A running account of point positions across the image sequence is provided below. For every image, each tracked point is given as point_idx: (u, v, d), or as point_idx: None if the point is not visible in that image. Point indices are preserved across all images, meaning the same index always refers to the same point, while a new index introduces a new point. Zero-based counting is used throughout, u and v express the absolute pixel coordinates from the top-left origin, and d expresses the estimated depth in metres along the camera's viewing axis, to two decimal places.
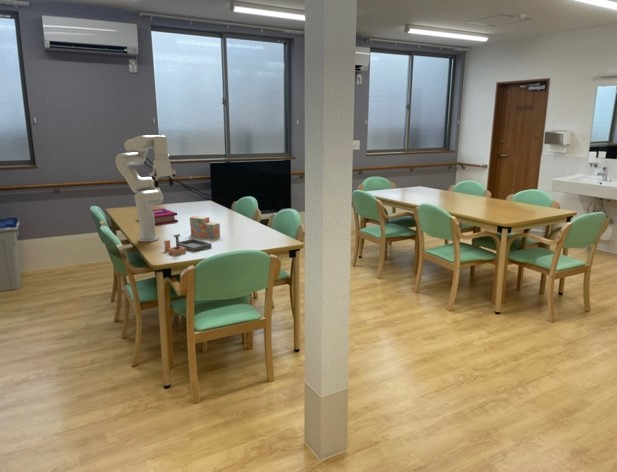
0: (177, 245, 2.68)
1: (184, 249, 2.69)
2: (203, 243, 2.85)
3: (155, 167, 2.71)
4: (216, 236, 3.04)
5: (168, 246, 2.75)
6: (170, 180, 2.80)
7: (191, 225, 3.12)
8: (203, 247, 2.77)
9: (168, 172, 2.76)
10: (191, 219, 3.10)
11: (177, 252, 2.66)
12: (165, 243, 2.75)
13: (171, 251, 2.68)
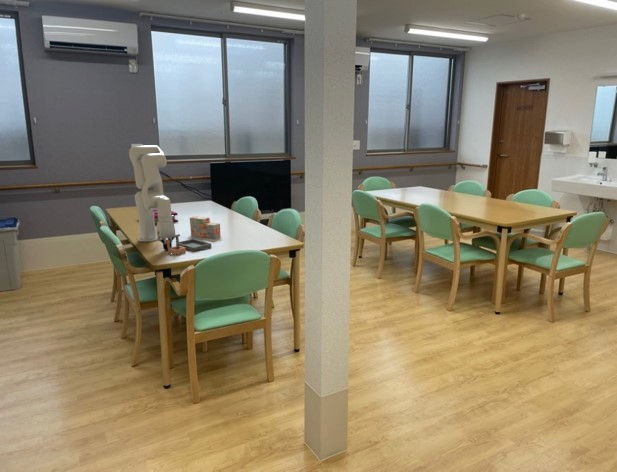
0: (177, 245, 2.68)
1: (184, 249, 2.70)
2: (203, 243, 2.85)
3: (159, 229, 2.70)
4: (217, 236, 3.04)
5: (168, 246, 2.76)
6: None
7: (191, 225, 3.10)
8: (203, 247, 2.77)
9: (172, 233, 2.75)
10: (191, 219, 3.09)
11: (177, 252, 2.66)
12: None
13: (171, 251, 2.68)
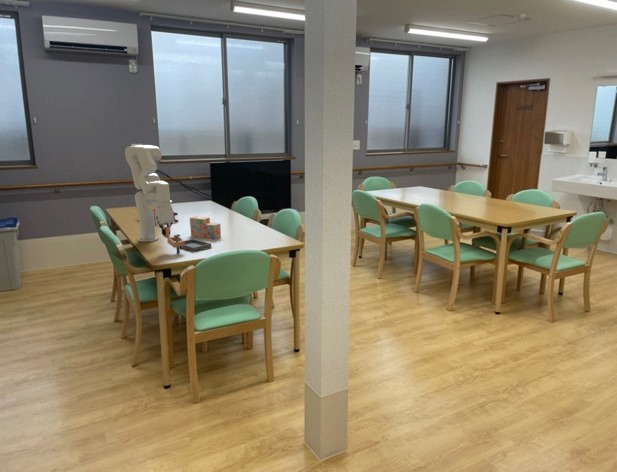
0: None
1: (183, 242, 2.69)
2: (203, 243, 2.85)
3: (157, 214, 2.68)
4: (217, 236, 3.03)
5: (167, 233, 2.73)
6: None
7: (191, 226, 3.10)
8: (203, 247, 2.77)
9: (170, 218, 2.73)
10: (191, 220, 3.09)
11: (176, 244, 2.66)
12: None
13: (170, 242, 2.67)
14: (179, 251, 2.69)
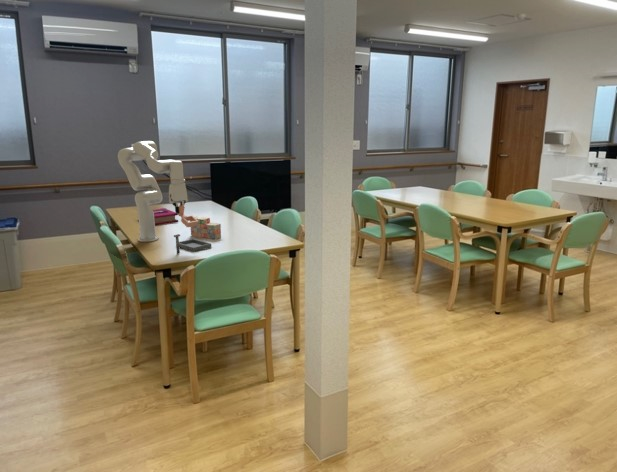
0: (177, 245, 2.68)
1: (197, 222, 2.72)
2: (203, 243, 2.85)
3: (171, 192, 2.72)
4: (217, 237, 3.03)
5: (181, 212, 2.77)
6: None
7: None
8: (203, 247, 2.77)
9: (184, 196, 2.77)
10: None
11: (190, 224, 2.70)
12: (179, 209, 2.76)
13: (184, 221, 2.71)
14: (179, 251, 2.69)
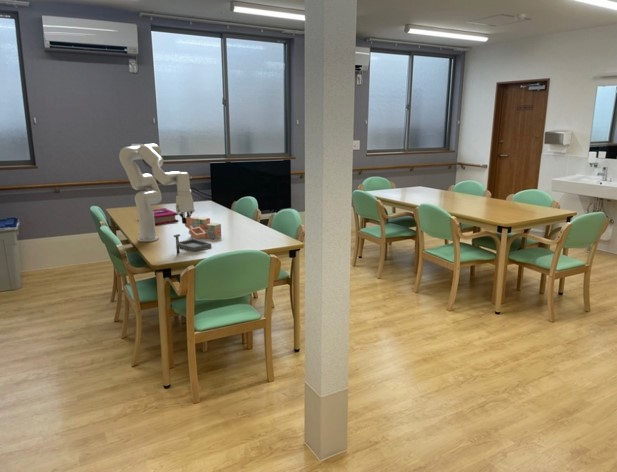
0: (177, 245, 2.68)
1: (204, 234, 2.78)
2: (203, 243, 2.85)
3: (178, 203, 2.76)
4: (218, 237, 3.03)
5: (189, 223, 2.82)
6: None
7: None
8: (203, 247, 2.77)
9: (190, 207, 2.81)
10: None
11: (198, 236, 2.75)
12: (187, 220, 2.80)
13: (192, 233, 2.75)
14: (179, 251, 2.69)
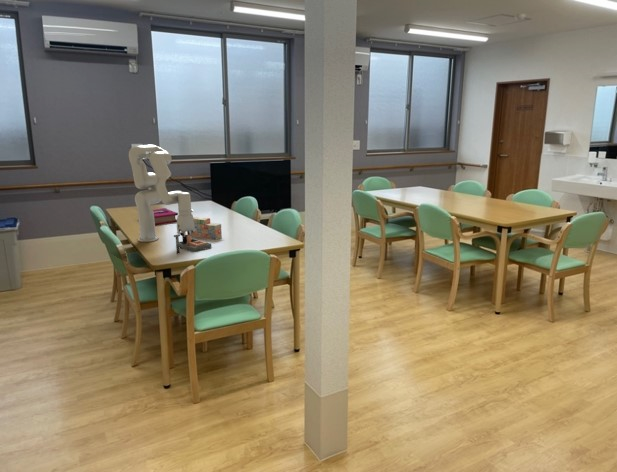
0: (177, 245, 2.68)
1: (205, 243, 2.79)
2: None
3: (179, 223, 2.80)
4: (218, 237, 3.02)
5: (189, 240, 2.85)
6: None
7: None
8: (203, 247, 2.77)
9: (191, 227, 2.85)
10: None
11: None
12: None
13: (193, 245, 2.77)
14: (179, 251, 2.69)
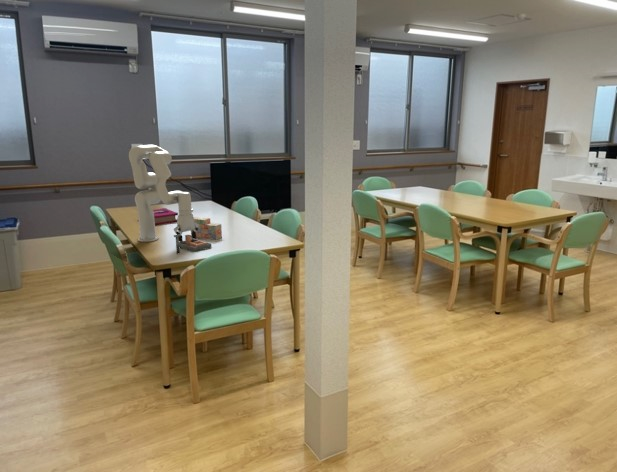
0: (177, 245, 2.68)
1: (205, 243, 2.79)
2: None
3: (179, 222, 2.79)
4: (218, 237, 3.02)
5: (189, 241, 2.85)
6: (193, 233, 2.88)
7: None
8: (203, 247, 2.77)
9: (191, 226, 2.84)
10: None
11: None
12: (186, 238, 2.84)
13: (193, 245, 2.77)
14: (179, 251, 2.69)
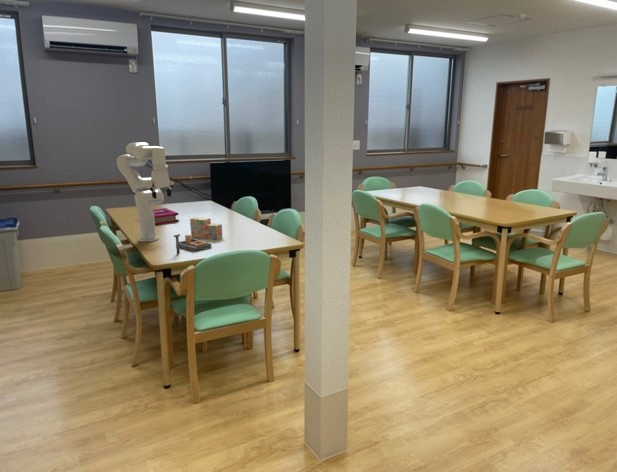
0: (177, 245, 2.68)
1: (205, 243, 2.79)
2: None
3: (153, 178, 2.71)
4: (219, 237, 3.01)
5: (189, 241, 2.85)
6: (168, 191, 2.80)
7: (191, 227, 3.07)
8: (203, 247, 2.77)
9: (166, 183, 2.76)
10: (192, 221, 3.06)
11: None
12: (186, 238, 2.84)
13: (193, 245, 2.77)
14: (179, 251, 2.69)
